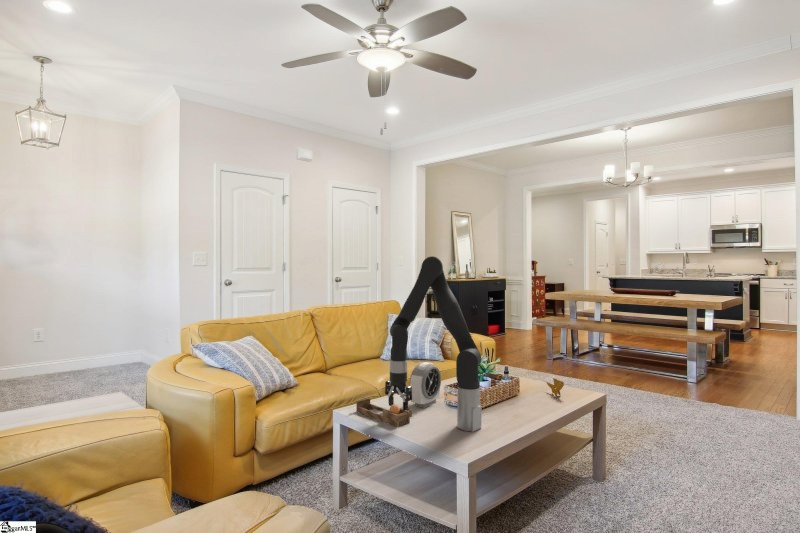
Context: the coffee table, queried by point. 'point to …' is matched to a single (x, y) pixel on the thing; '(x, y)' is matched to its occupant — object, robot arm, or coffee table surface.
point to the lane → (382, 413)
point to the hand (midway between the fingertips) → (398, 407)
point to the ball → (394, 409)
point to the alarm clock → (425, 384)
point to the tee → (410, 411)
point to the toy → (556, 386)
